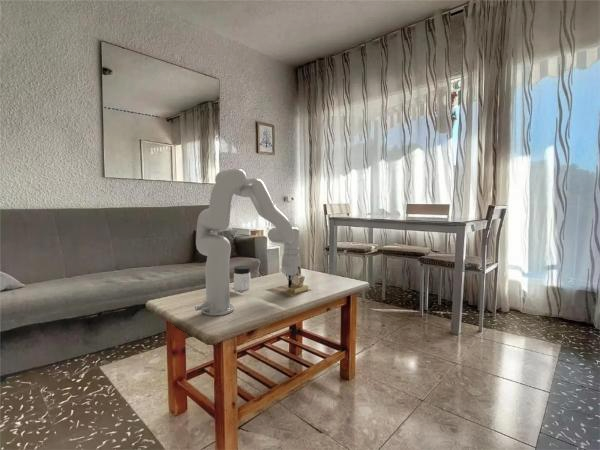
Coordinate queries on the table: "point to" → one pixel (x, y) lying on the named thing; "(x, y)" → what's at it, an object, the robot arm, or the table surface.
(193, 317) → the table surface
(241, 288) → the jar
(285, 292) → the board
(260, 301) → the table surface
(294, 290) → the clip
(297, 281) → the tan block
